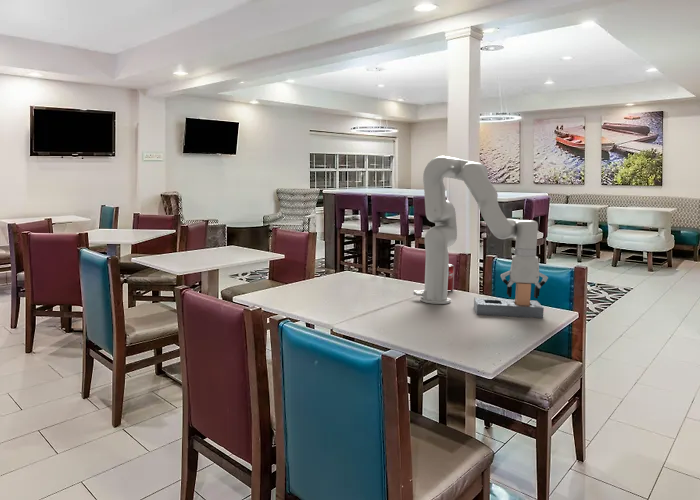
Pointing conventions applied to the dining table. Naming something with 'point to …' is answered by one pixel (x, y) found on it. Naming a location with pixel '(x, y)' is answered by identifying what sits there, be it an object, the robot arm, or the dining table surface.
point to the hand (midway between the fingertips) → (522, 297)
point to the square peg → (523, 294)
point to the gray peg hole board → (507, 308)
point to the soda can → (450, 277)
